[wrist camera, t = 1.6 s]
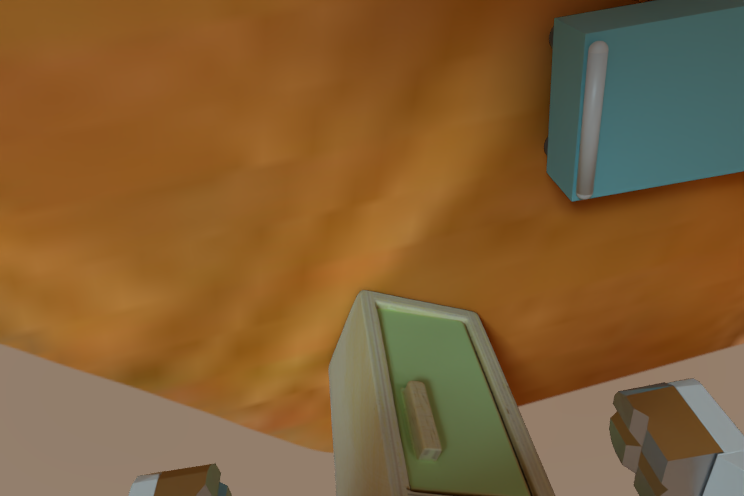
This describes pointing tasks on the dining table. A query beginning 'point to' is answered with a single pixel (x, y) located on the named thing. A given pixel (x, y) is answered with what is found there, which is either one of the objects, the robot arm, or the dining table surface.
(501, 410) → the toy refrigerator
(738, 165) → the teal handled box
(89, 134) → the dining table surface
